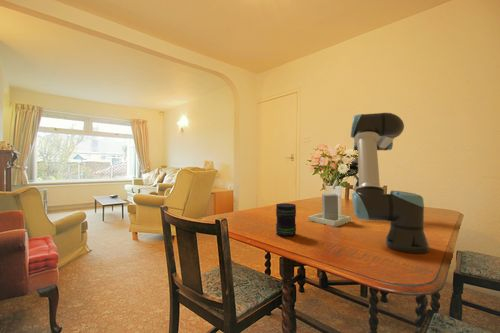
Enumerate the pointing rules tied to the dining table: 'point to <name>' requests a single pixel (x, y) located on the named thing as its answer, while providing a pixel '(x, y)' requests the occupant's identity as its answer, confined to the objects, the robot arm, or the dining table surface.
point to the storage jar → (286, 220)
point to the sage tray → (335, 223)
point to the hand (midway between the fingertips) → (343, 188)
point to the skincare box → (330, 206)
